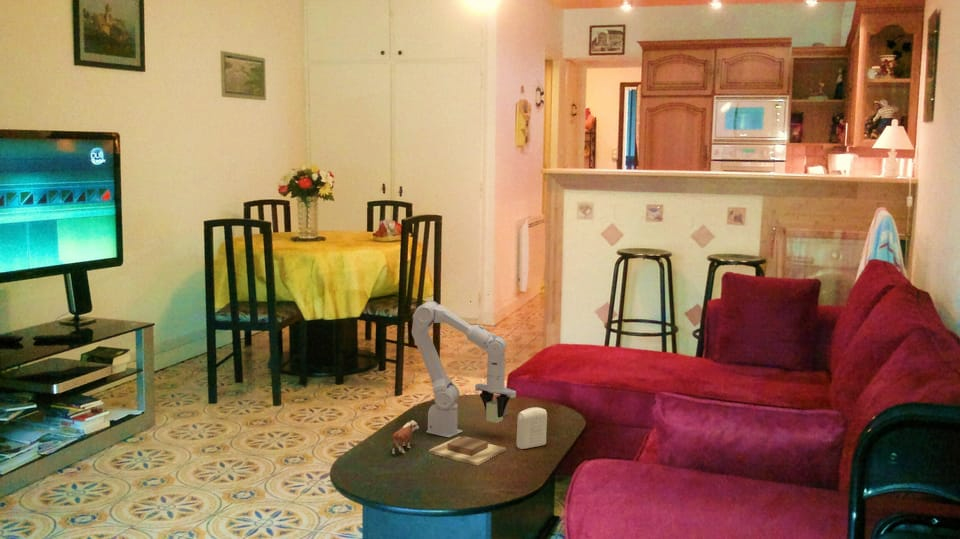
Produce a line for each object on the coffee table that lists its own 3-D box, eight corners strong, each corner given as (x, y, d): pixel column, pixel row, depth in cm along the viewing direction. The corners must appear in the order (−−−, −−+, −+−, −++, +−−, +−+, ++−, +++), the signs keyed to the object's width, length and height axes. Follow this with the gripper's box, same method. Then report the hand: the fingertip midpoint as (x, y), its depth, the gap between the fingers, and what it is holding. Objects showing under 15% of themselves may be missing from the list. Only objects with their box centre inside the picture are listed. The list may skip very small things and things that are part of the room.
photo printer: (540, 441, 280) (541, 404, 279) (548, 445, 277) (549, 407, 275) (514, 446, 275) (515, 408, 273) (522, 450, 271) (523, 412, 270)
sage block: (486, 420, 282) (486, 402, 281) (492, 417, 285) (493, 399, 285) (496, 422, 280) (496, 404, 279) (503, 419, 283) (503, 402, 282)
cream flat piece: (428, 453, 267) (428, 443, 267) (458, 439, 280) (458, 430, 280) (477, 465, 257) (477, 455, 257) (505, 450, 271) (506, 441, 270)
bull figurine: (420, 444, 275) (421, 419, 274) (399, 457, 263) (399, 431, 262) (408, 442, 277) (409, 417, 276) (387, 455, 265) (387, 429, 264)
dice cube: (486, 416, 306) (487, 402, 306) (494, 413, 310) (495, 399, 310) (498, 418, 303) (499, 405, 303) (506, 415, 307) (506, 401, 307)
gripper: (521, 375, 280) (520, 416, 282) (483, 368, 288) (482, 408, 290) (509, 380, 274) (508, 421, 276) (471, 373, 282) (471, 413, 284)
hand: (494, 415), depth 282 cm, fingers closed on sage block, 4 cm apart
